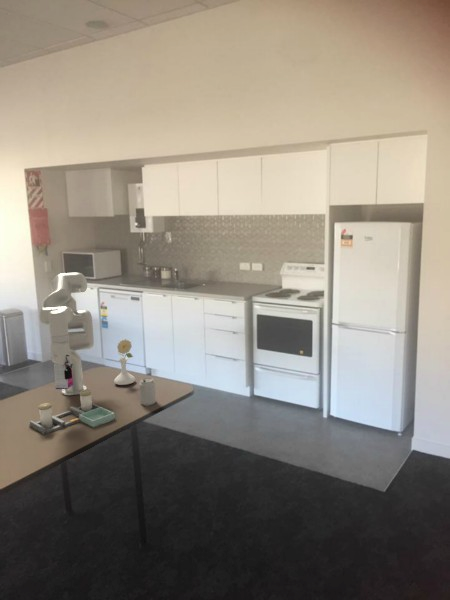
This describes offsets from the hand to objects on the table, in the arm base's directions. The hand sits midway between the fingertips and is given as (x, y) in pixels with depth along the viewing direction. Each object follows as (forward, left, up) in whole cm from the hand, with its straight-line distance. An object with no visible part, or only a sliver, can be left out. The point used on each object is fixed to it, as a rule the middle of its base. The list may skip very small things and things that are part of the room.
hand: (63, 376), depth 224 cm
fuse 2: (0, +10, -20) cm, 23 cm away
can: (+14, +35, -21) cm, 43 cm away
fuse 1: (0, -10, -20) cm, 23 cm away
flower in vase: (-18, +45, -21) cm, 52 cm away
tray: (+12, +8, -20) cm, 25 cm away
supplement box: (0, 0, -5) cm, 5 cm away
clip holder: (0, 0, -20) cm, 20 cm away
